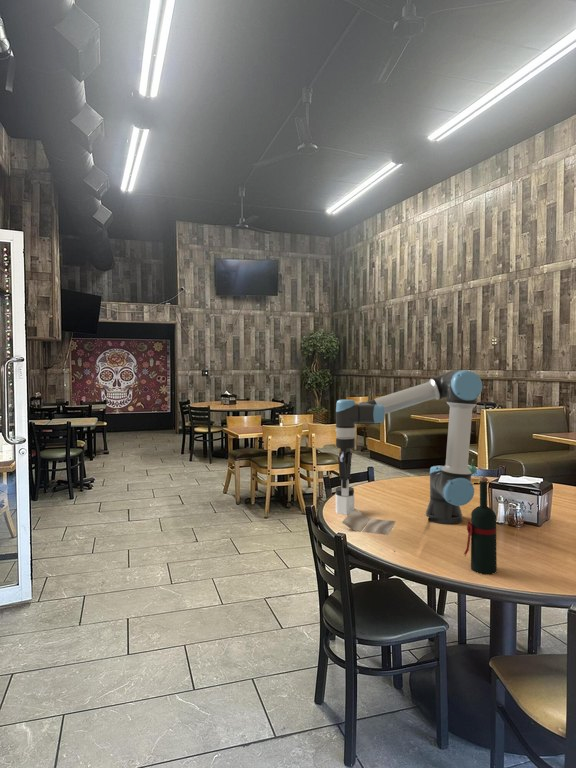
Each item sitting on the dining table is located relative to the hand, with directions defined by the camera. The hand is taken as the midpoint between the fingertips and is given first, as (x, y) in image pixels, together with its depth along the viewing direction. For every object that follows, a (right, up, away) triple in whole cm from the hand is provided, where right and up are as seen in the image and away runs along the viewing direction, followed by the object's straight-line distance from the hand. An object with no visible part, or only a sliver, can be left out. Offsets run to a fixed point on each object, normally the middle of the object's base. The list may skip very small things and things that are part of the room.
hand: (345, 495), depth 198 cm
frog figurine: (+83, -12, +80) cm, 116 cm away
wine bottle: (+39, -15, -40) cm, 58 cm away
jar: (+2, -14, +21) cm, 25 cm away
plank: (+5, -12, +4) cm, 13 cm away
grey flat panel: (+9, -14, +2) cm, 17 cm away
